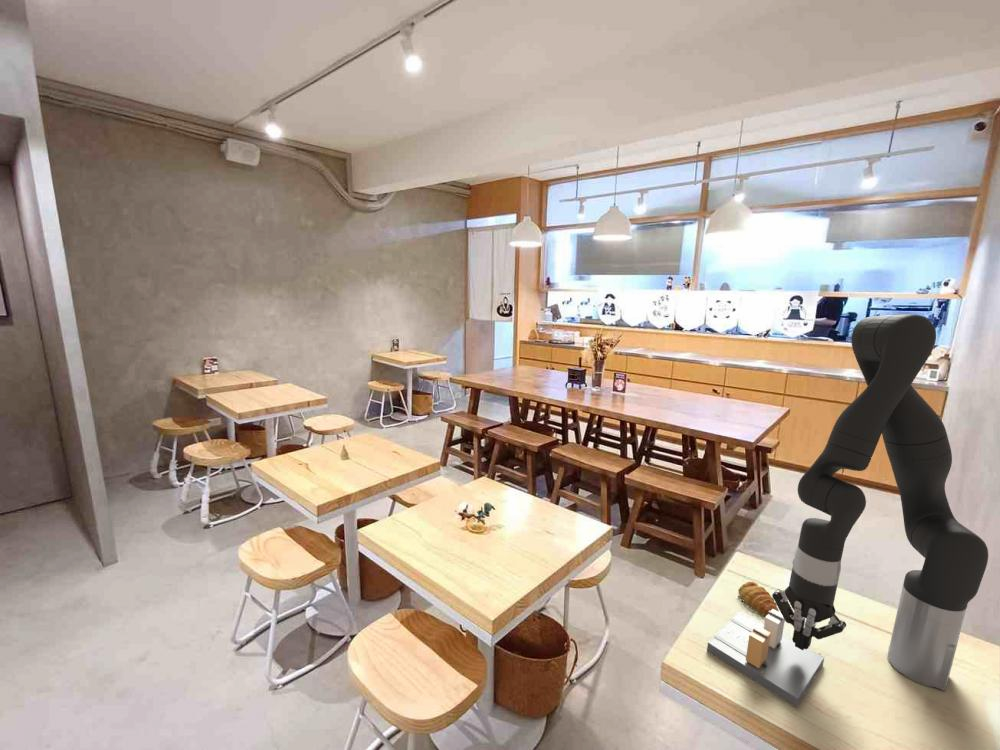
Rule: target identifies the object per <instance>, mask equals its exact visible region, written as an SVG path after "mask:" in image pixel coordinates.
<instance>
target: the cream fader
mask: <svg viewBox="0 0 1000 750" xmlns="http://www.w3.org/2000/svg"><path fill="white" fill-rule="evenodd" d="M764 617H765V616H764ZM785 623H786V621H785V619H784V618H783V616H782V614H781V612H780V611H776V610H774V609H772V610H771V611H769V613H768V615H767V616H766V617H765V618H764V623H763V624H764V629H765V630H766V631H768V632H770V633H771V635H770V641H769V646H770V647H772V648H774V649H775V647H776V646H777V645H778V643H779V642H780V641H781V640H782V634H783V635H784V633H783V632H784V627H785Z"/></svg>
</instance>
